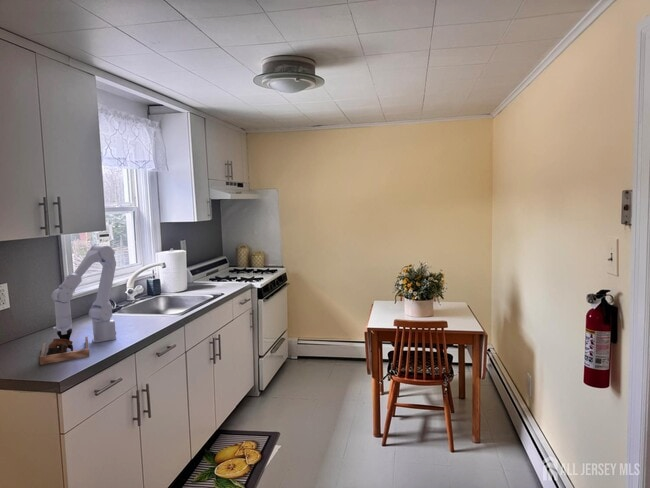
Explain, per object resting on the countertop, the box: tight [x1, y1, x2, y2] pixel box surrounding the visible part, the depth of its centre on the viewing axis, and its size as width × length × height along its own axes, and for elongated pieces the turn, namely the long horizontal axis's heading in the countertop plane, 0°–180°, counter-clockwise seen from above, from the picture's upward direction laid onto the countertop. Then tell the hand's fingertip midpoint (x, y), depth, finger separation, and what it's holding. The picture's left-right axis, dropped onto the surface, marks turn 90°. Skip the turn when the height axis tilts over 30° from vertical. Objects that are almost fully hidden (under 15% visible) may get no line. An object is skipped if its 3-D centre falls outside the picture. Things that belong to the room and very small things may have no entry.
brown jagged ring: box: [45, 338, 74, 356], centre depth 181 cm, size 12×10×8 cm
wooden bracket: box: [39, 336, 90, 365], centre depth 185 cm, size 17×23×3 cm
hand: (65, 346), depth 188 cm, fingers closed
